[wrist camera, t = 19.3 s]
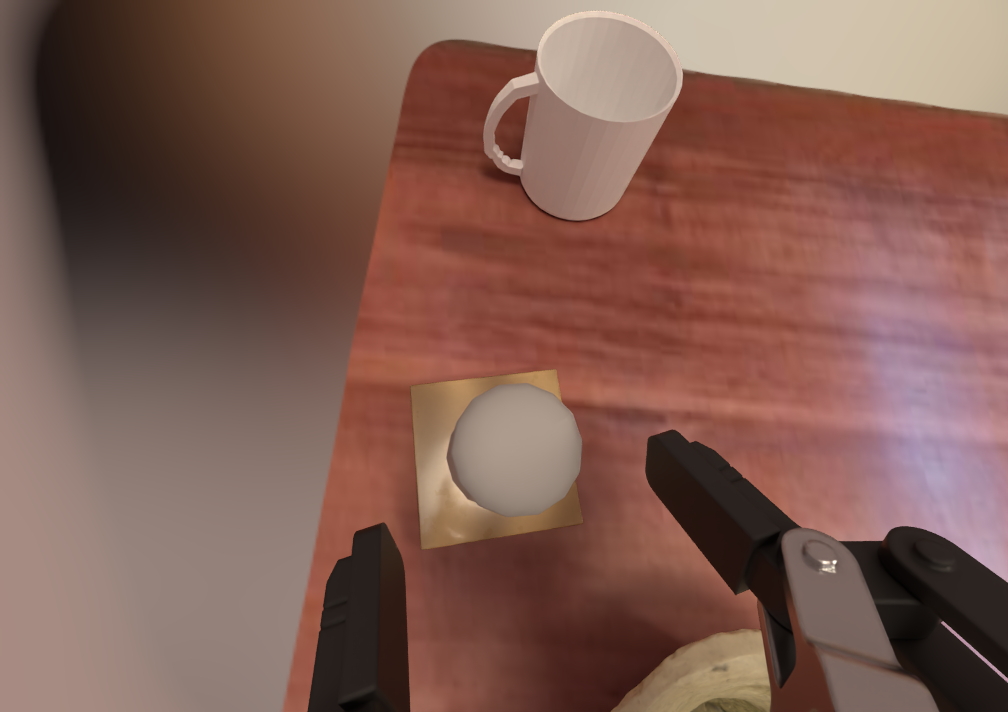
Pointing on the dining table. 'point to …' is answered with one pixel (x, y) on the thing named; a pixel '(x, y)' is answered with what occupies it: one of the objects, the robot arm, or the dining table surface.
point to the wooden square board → (438, 496)
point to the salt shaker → (515, 450)
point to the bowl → (707, 678)
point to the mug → (588, 111)
